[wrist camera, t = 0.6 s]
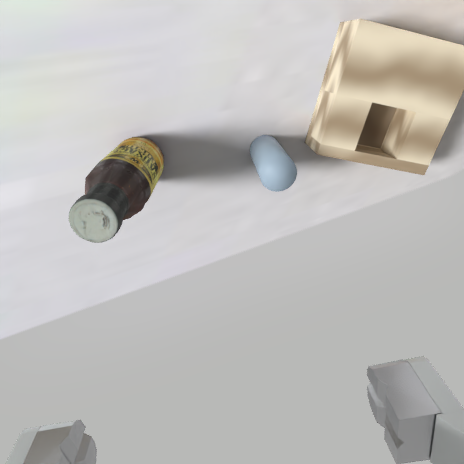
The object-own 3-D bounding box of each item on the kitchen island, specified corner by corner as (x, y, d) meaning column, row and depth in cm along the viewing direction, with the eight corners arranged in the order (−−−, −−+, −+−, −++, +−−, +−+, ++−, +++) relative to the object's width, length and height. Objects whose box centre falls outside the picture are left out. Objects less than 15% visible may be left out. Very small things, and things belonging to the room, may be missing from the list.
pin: (253, 132, 46) (265, 152, 37) (283, 138, 46) (301, 159, 38) (246, 162, 48) (256, 188, 39) (275, 167, 48) (291, 194, 39)
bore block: (340, 22, 41) (360, 18, 35) (448, 50, 43) (482, 50, 37) (304, 142, 47) (317, 154, 41) (400, 161, 49) (424, 175, 44)
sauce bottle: (173, 151, 46) (154, 214, 29) (150, 189, 48) (119, 269, 31) (128, 123, 44) (76, 172, 27) (106, 163, 46) (45, 234, 29)
